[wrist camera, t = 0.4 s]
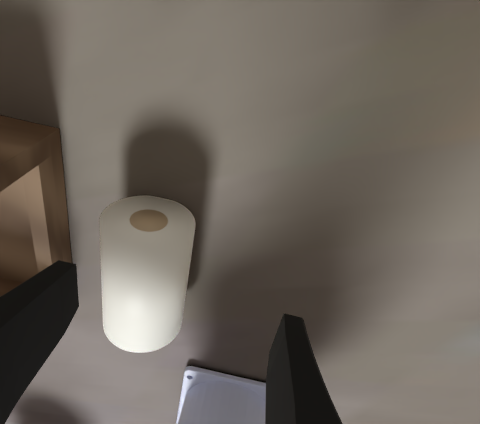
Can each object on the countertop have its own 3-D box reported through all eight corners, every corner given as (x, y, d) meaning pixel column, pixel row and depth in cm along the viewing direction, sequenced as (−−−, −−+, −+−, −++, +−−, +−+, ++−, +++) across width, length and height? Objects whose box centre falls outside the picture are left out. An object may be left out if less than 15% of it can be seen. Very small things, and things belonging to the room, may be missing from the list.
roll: (190, 300, 26) (169, 361, 22) (121, 284, 26) (88, 342, 22) (204, 206, 22) (182, 259, 18) (122, 187, 22) (80, 236, 18)
